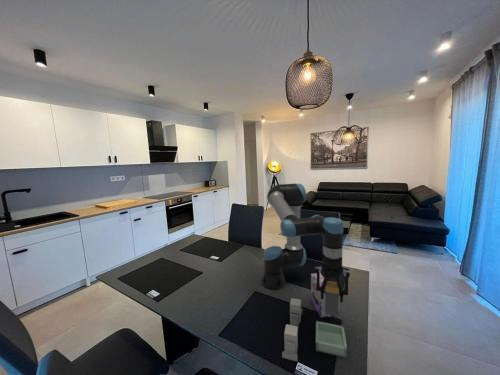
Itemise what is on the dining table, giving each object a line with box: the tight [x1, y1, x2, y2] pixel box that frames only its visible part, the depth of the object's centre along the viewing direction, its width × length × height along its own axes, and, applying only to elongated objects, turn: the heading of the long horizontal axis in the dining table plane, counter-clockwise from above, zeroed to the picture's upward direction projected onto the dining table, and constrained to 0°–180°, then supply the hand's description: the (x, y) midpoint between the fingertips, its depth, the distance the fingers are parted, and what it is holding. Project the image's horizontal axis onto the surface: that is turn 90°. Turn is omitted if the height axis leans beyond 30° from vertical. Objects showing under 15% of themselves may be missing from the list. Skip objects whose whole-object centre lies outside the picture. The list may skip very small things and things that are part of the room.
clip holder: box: [281, 307, 303, 363], centre depth 97 cm, size 6×28×6 cm, turn 162°
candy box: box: [310, 272, 332, 318], centre depth 112 cm, size 14×6×16 cm, turn 5°
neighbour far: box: [289, 297, 302, 324], centre depth 106 cm, size 5×5×9 cm
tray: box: [315, 320, 348, 359], centre depth 92 cm, size 12×12×4 cm
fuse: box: [325, 280, 339, 317], centre depth 89 cm, size 5×5×12 cm
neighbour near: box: [283, 324, 299, 356], centre depth 89 cm, size 5×5×9 cm
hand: (331, 306), depth 89 cm, fingers closed on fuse, 5 cm apart
